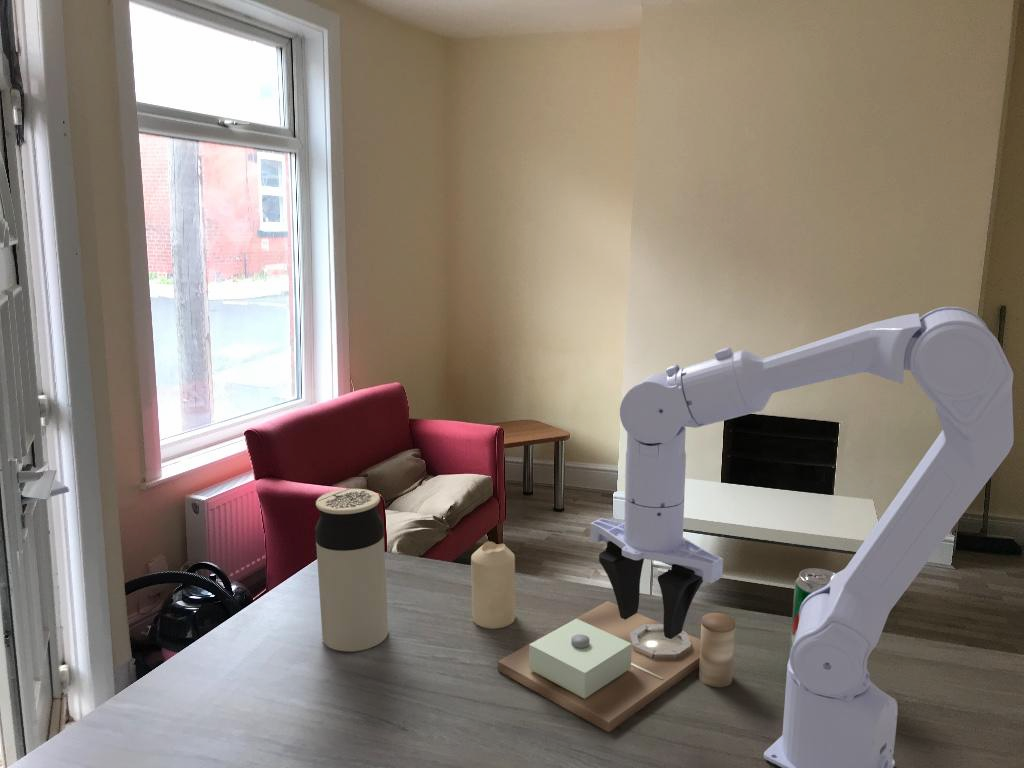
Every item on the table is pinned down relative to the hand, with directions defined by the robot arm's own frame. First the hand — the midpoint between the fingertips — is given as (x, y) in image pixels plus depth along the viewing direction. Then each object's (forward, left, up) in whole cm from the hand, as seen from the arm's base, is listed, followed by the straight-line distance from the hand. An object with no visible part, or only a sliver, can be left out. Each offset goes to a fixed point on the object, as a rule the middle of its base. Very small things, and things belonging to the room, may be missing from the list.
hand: (650, 624), depth 83 cm
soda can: (-9, -19, -11) cm, 23 cm away
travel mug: (+35, +12, -11) cm, 39 cm away
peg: (-1, -11, -10) cm, 15 cm away
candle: (+26, -3, -11) cm, 28 cm away
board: (+9, -5, -10) cm, 15 cm away
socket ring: (+6, -11, -9) cm, 16 cm away
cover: (+9, 0, -9) cm, 13 cm away
